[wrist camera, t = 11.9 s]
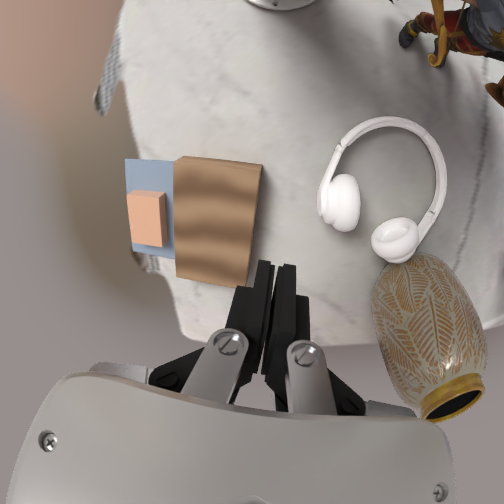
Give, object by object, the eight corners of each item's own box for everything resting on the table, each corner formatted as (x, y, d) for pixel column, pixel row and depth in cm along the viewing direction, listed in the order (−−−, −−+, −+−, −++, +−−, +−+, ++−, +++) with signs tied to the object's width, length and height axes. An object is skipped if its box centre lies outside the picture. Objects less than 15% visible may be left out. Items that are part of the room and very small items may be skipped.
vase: (458, 268, 42) (519, 377, 19) (404, 324, 51) (433, 436, 28) (407, 225, 40) (484, 355, 17) (347, 295, 49) (367, 432, 26)
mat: (125, 158, 40) (125, 159, 39) (180, 162, 39) (179, 162, 39) (133, 250, 49) (133, 251, 49) (181, 259, 49) (180, 259, 49)
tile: (158, 197, 40) (165, 192, 42) (126, 195, 40) (133, 189, 42) (162, 247, 45) (167, 240, 47) (132, 242, 45) (138, 235, 47)
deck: (183, 156, 39) (173, 162, 35) (262, 164, 38) (259, 171, 35) (183, 264, 49) (176, 276, 46) (247, 275, 49) (244, 289, 46)
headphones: (392, 257, 43) (453, 165, 34) (409, 282, 36) (481, 176, 27) (298, 200, 40) (365, 89, 31) (303, 218, 33) (385, 83, 24)
